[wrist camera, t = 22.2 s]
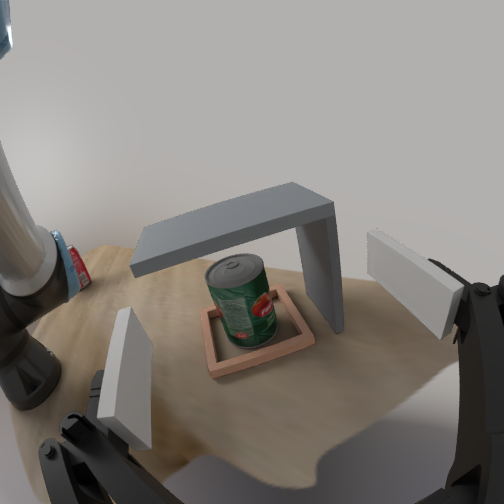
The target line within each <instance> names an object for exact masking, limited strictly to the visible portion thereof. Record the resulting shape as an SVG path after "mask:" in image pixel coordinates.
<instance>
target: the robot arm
mask: <svg viewBox="0 0 504 504" xmlns="http://www.w3.org/2000/svg"><path fill="white" fill-rule="evenodd" d="M12 45H13V41H12V28H11V20H10V7H9V0H0V59H2V58H3V57H4V56H5V55H6V54H7V53H8V52H9V51H10V50H11V49H12ZM367 258H368V259H367V260H368V262H367V264H368V265H367V266H368V268H367V270H368V271H367V273H368V274H369V275H370V276H371V277H372V278H374V279H375V280H376V281H377V282H378V283H379V284H380V285H382V286H383V287H384V288H385V289H386V290H387V291H388V292H389V293H391V294H392V295H393V296H394V297H395V298H396V299H397V300H398V301H399V302H400V303H402V304H403V305H404V306H405V307H406V308H407V309H408V310H409V311H410V312H411V313H412V314H414V315H415V316H416V317H417V318H418V319H419V320H420V321H421V322H422V323H423V324H424V325H425V326H426V327H427V328H428V329H429V330H430V331H431V332H432V333H434V334H435V335H436V336H437V337H438V338H439V339H440V340H441V339H443V338H444V337H446V336H447V335H449V334H450V333H451V331H452V328H453V325H454V323H455V324H456V325H457V326H458V329H457V332H456V335H455V337H454V340H453V344H455V342H456V340H457V341H458V354H459V375H460V401H459V403H460V404H459V423H458V435H457V445H456V453H455V459H454V463H453V465H452V467H451V469H450V471H449V474H448V477H447V481H446V485H445V489H442V488H441V489H439V490H437V491H436V492H434V493H432V494H431V495H429V496H427V497H425V498H424V499H422V500H420V501H418V502H417V503H415V504H504V275H502V277H501V278H500V281H499V284H498V285H496V286H493V287H489V286H488V285H486V284H484V283H479V282H478V283H473V284H470V283H469V282H467V281H466V280H465V279H463V278H462V277H460V276H459V275H458V274H456V273H454V272H453V271H451V270H450V269H449V268H446V266H444V265H443V264H441V263H440V262H438V261H435V260H432V259H425V258H424V257H423V256H421V255H420V254H418V253H416V252H415V251H413V250H412V249H410V248H408V247H407V246H406V245H404V244H402V243H401V242H399V241H397V240H396V239H394V238H393V237H391V236H389V235H388V234H386V233H384V232H383V231H381V230H379V229H378V228H377V229H374V230H371V231H368V232H367ZM79 291H80V281H79V278H78V275H77V272H76V269H75V267H74V264H73V261H72V259H71V256H70V253H69V251H68V249H67V246H66V244H65V242H64V240H63V237H62V235H61V234H60V232H58V231H53V232H52V231H51V232H48V230H46V229H45V228H43V227H41V226H39V225H35V223H34V221H33V219H32V217H31V215H30V213H29V211H28V209H27V207H26V205H25V202H24V200H23V198H22V196H21V194H20V191H19V189H18V187H17V185H16V182H15V180H14V177H13V175H12V172H11V170H10V167H9V165H8V162H7V159H6V157H5V154H4V151H3V148H2V145H1V142H0V386H1V388H2V390H3V392H4V393H5V396H6V398H7V399H8V400H9V401H10V402H11V403H12V404H13V405H14V406H15V407H16V408H17V409H20V410H28V409H31V408H33V407H35V406H37V405H39V404H40V403H41V402H43V401H44V400H45V399H46V398H47V397H48V396H49V394H50V393H51V392H52V390H53V389H54V387H55V386H56V384H57V382H58V379H59V376H60V372H61V365H60V362H59V360H58V359H57V358H56V356H55V355H54V354H53V352H52V351H51V350H49V349H48V348H46V347H45V346H44V345H42V344H41V343H40V342H39V341H37V340H36V339H35V338H33V337H32V336H31V335H30V334H29V333H28V331H27V329H26V327H27V326H29V325H30V324H31V323H33V322H35V321H36V320H38V319H39V318H41V317H43V316H44V315H46V314H47V313H49V312H50V311H52V310H54V309H55V308H57V307H58V306H60V305H62V304H63V303H67V302H69V300H70V299H71V298H72V297H74V296H75V295H77V294H78V293H79ZM152 347H153V344H152V343H151V341H150V339H149V338H148V336H147V334H146V332H145V331H144V329H143V327H142V325H141V324H140V322H139V320H138V318H137V317H136V315H135V313H134V311H133V309H132V307H128V308H124V309H121V310H118V314H117V318H116V321H115V325H114V330H113V334H112V338H111V342H110V347H109V351H108V356H107V361H106V366H105V370H100V371H97V373H96V375H95V376H94V378H93V380H92V384H91V391H90V394H89V397H90V398H89V400H88V405H87V411H86V417H85V416H83V415H82V414H81V413H80V412H76V411H75V412H70V413H69V414H67V415H66V416H65V417H64V418H63V419H62V421H61V423H60V428H59V431H60V434H61V436H63V437H64V438H65V439H66V440H68V441H66V442H64V443H61V444H60V443H59V442H57V441H56V440H55V439H51V438H50V439H46V440H45V441H44V442H43V443H42V444H41V446H40V448H39V459H40V464H41V468H42V473H43V477H44V480H45V484H46V488H47V491H48V494H49V498H50V501H51V504H113V503H112V501H111V499H110V497H109V495H110V496H111V497H112V499H113V500H114V501H115V502H116V503H117V504H184V503H182V502H181V501H180V500H179V499H178V498H176V497H175V496H174V495H173V494H172V493H171V492H169V491H168V490H167V489H166V488H165V487H164V486H163V485H162V484H161V483H159V482H158V481H157V480H156V479H155V478H154V477H153V476H152V475H151V474H150V473H149V472H148V471H147V470H146V469H145V468H144V467H143V466H142V465H141V464H140V463H139V462H138V461H137V460H136V459H135V458H134V457H133V456H132V455H131V454H129V453H128V447H129V446H130V447H131V448H133V449H134V450H135V451H139V450H149V449H152V443H151V369H152ZM108 494H109V495H108Z"/></svg>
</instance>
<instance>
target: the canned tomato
mask: <svg viewBox="0 0 504 504" xmlns="http://www.w3.org/2000/svg"><path fill="white" fill-rule="evenodd" d="M205 281H206V283H207V285H208V288H209V291H210V293H211V296H212V299H213V301H214V304H215V306H216V309H217V312H218V314H219V317H220V319H221V322H222V324H223V327H224V330H225V332H226V334H227V338H228V340H229V342H230V343H231V344H232V345H234V346H235V347H238V348H242V349H252V348H257V347H260V346H263V345H265V344H266V343H268V342H269V341H271V340H272V339H273V338H274V336H275V335H276V333H277V331H278V322H277V318H276V314H275V310H274V305H273V301H272V297H271V293H270V289H269V285H268V281H267V277H266V272H265V269H264V264H263V261H262V259H261V258H260V257H259V256H257V255H254V254H236V255H232V256H228V257H226V258H223V259H221V260H219V261H217V262H215V263H214V264H213V265H211V266H210V267H209V268H208V269H207V271H206V273H205Z"/></svg>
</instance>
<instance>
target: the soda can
mask: <svg viewBox="0 0 504 504" xmlns="http://www.w3.org/2000/svg"><path fill="white" fill-rule="evenodd" d="M67 249H68V251H69V253H70V256H71V259H72V261H73V264H74V267H75V269H76V272H77V275H78V278H79V281H80V290H81V289H83V288H85V287H86V286H87V285H88V284H89V281H90V279H91V278H90V276H89V273H88V271H87V269H86V267H85V265H84V263H83V261H82V259H81V257H80V255H79V253H78V251H77V249H76V248H74V247H73V245H69V246H67Z"/></svg>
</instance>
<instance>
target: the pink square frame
mask: <svg viewBox="0 0 504 504" xmlns="http://www.w3.org/2000/svg"><path fill="white" fill-rule="evenodd" d="M269 289H270V293H271V297H272V298H274V297H277V296H278V298H279V300H280V301H281V303H282V305H283V306H284V308H285V310H286V312H287V313H288V315H289V317H290V318H291V320H292V322H293V324H294V325H295V327H296V329H297V330H298V332H299V334H300V335H298V336H296V337H293V338H290V339H288V340H285V341H282V342H279V343H277V344H274V345H271V346H268V347H265V348H262V349H259V350H256V351H253V352H250V353H247V354H244V355H241V356H238V357H234V358H231V359H228V360H225V361H221V362H218V358H217V353H216V348H215V343H214V338H213V333H212V327H211V322H210V318H213V317H216V316H219V314H218V312H217V309H216V306H215V305H213V306H210V307H207V308H203V309H200V316H201V323H202V330H203V337H204V344H205V350H206V357H207V363H208V369H209V373H210V375H211V376H212V378H217V377H220V376H223V375H227V374H230V373H234V372H237V371H240V370H243V369H246V368H250V367H253V366H256V365H259V364H262V363H265V362H268V361H270V360H273V359H276V358H279V357H282V356H285V355H287V354H290V353H293V352H295V351H298V350H301V349H303V348H306V347H308V346H311V345H313V344H315V337H314V335H313V333H312V332H311V330H310V329H309V327H308V325H307V324H306V322H305V321H304V319H303V318H302V316H301V315H300V313H299V311H298V310H297V308H296V307H295V305H294V304H293V302H292V301H291V299H290V297H289V296H288V294H287V293H286V291H285V290H284V288H283V287H282V285H281V283H280V284H277V285H274V286H271V287H269Z"/></svg>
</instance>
